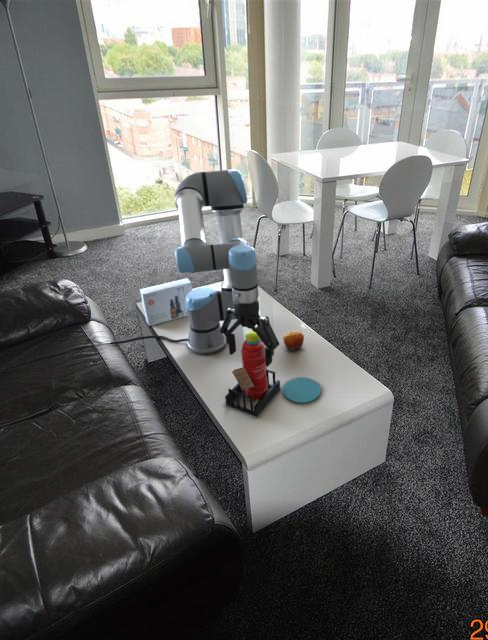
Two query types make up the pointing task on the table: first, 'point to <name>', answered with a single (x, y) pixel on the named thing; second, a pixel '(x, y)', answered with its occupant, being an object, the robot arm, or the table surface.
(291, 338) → the fruit
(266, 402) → the rack
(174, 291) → the skincare box
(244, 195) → the robot arm
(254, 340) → the water bottle
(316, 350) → the table surface
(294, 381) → the mat
